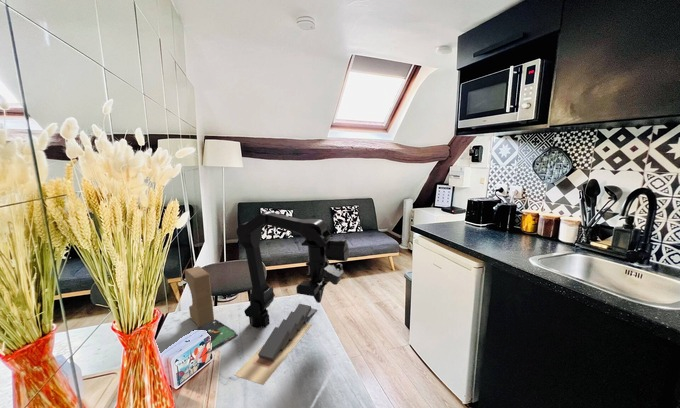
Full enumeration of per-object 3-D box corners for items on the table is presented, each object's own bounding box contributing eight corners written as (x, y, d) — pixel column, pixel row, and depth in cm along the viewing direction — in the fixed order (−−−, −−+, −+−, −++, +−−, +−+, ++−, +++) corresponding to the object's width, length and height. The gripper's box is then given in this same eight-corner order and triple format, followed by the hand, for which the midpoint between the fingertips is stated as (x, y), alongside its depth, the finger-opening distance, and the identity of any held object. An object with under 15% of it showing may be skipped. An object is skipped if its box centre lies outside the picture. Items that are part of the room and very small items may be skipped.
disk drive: (188, 340, 98) (210, 356, 89) (187, 332, 97) (209, 348, 88) (216, 325, 106) (239, 339, 97) (215, 318, 105) (238, 332, 96)
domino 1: (271, 358, 83) (288, 330, 91) (257, 354, 85) (275, 327, 93) (273, 361, 84) (289, 333, 92) (259, 357, 85) (276, 330, 94)
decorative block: (190, 317, 111) (184, 269, 107) (205, 311, 114) (199, 265, 111) (198, 329, 103) (192, 278, 99) (214, 322, 106) (209, 273, 103)
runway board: (234, 378, 79) (234, 374, 79) (289, 322, 106) (288, 319, 105) (263, 388, 75) (263, 384, 75) (312, 327, 102) (312, 324, 102)
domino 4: (281, 347, 87) (296, 321, 96) (267, 344, 89) (283, 319, 97) (282, 351, 88) (297, 325, 96) (269, 347, 90) (284, 322, 98)
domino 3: (289, 337, 92) (303, 313, 100) (277, 334, 94) (291, 311, 102) (290, 341, 93) (304, 316, 101) (278, 337, 95) (292, 314, 103)
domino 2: (297, 328, 97) (310, 306, 105) (285, 324, 99) (299, 303, 107) (298, 331, 98) (311, 309, 106) (286, 327, 100) (300, 306, 108)
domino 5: (305, 319, 102) (317, 309, 111) (293, 317, 104) (306, 307, 113) (305, 324, 102) (317, 313, 111) (293, 321, 104) (306, 311, 113)
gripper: (327, 272, 80) (329, 322, 83) (349, 251, 97) (350, 293, 100) (294, 267, 84) (296, 315, 87) (320, 248, 101) (322, 288, 104)
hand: (318, 302), depth 94 cm, fingers closed
